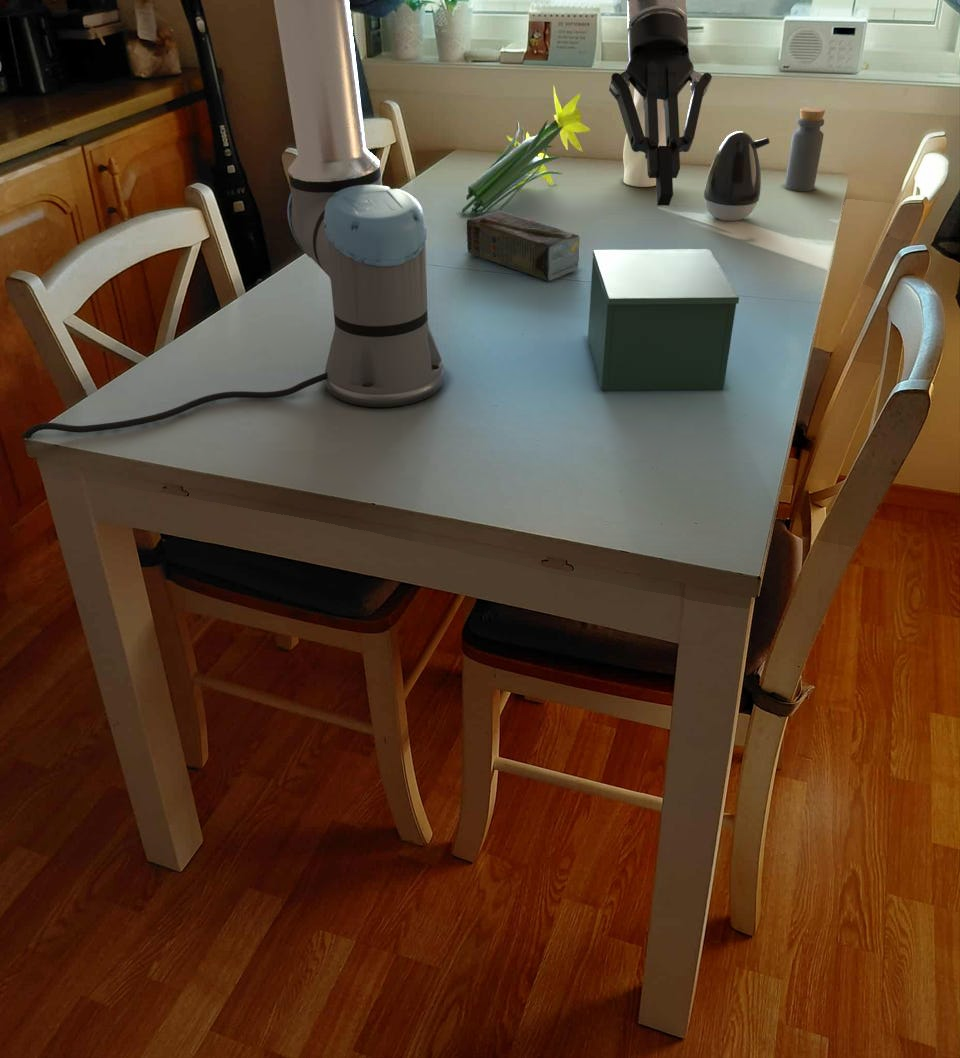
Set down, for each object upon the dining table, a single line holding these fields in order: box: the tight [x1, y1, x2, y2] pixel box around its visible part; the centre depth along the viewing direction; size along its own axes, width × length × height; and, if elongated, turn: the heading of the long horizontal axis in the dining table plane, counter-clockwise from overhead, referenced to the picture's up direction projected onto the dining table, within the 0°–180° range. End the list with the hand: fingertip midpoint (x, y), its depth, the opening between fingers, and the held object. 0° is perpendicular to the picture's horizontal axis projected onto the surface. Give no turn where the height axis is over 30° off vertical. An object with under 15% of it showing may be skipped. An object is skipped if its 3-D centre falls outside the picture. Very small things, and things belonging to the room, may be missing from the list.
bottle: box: [784, 106, 826, 192], centre depth 196 cm, size 6×6×15 cm
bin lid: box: [592, 248, 740, 305], centre depth 124 cm, size 17×16×1 cm
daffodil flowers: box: [461, 84, 591, 216], centre depth 192 cm, size 17×15×35 cm
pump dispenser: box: [703, 131, 770, 222], centre depth 180 cm, size 10×10×15 cm
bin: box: [587, 256, 737, 392], centre depth 128 cm, size 17×16×12 cm
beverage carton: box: [466, 209, 581, 282], centre depth 162 cm, size 8×19×7 cm, turn 45°
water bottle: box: [622, 88, 666, 188], centre depth 196 cm, size 10×9×28 cm
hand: (665, 199), depth 121 cm, fingers closed
